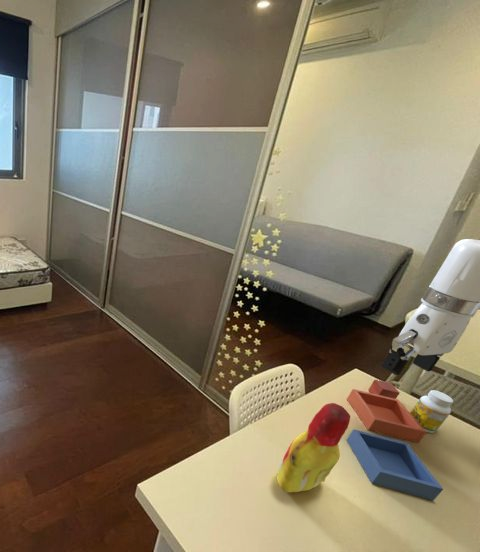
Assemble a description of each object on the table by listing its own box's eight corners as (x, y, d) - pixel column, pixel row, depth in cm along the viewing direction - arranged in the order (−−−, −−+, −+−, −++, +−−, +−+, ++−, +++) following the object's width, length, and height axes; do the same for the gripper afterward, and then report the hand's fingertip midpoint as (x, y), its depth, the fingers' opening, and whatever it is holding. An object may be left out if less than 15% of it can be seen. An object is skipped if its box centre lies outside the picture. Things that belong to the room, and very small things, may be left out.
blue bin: (399, 453, 72) (407, 442, 70) (433, 500, 63) (443, 489, 61) (346, 439, 74) (353, 428, 73) (371, 483, 65) (380, 471, 63)
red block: (383, 393, 90) (390, 382, 89) (392, 403, 87) (400, 392, 85) (367, 389, 91) (374, 379, 90) (375, 399, 88) (382, 388, 86)
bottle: (289, 506, 59) (336, 429, 50) (260, 474, 64) (298, 400, 56) (330, 486, 63) (379, 412, 55) (299, 457, 68) (340, 386, 60)
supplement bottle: (439, 437, 78) (462, 408, 74) (411, 427, 80) (432, 398, 76) (429, 421, 82) (451, 393, 78) (403, 412, 84) (422, 384, 80)
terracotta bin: (391, 409, 85) (398, 399, 83) (418, 443, 75) (427, 432, 74) (346, 398, 87) (352, 388, 85) (367, 430, 77) (375, 419, 76)
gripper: (444, 313, 58) (396, 384, 65) (503, 309, 62) (452, 377, 69) (398, 293, 65) (359, 360, 72) (455, 291, 69) (413, 355, 76)
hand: (405, 368), depth 71 cm, fingers open, 9 cm apart
